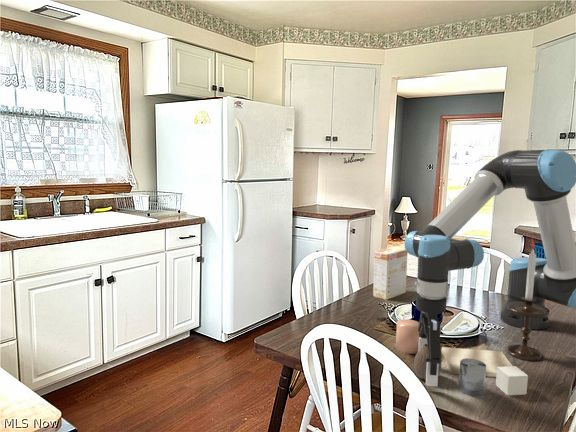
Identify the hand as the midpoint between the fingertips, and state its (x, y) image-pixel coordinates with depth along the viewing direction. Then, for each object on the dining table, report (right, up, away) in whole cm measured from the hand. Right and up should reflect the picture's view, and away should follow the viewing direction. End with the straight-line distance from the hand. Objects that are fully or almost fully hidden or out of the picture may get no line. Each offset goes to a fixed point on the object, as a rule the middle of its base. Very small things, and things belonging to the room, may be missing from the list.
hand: (427, 372), depth 115 cm
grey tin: (+9, -2, -6) cm, 11 cm away
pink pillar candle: (0, +1, +17) cm, 17 cm away
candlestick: (+34, 0, +14) cm, 36 cm away
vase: (0, -1, 0) cm, 2 cm away
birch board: (+17, 0, +8) cm, 18 cm away
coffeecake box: (+6, +8, +70) cm, 71 cm away
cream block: (+19, -2, -6) cm, 20 cm away
